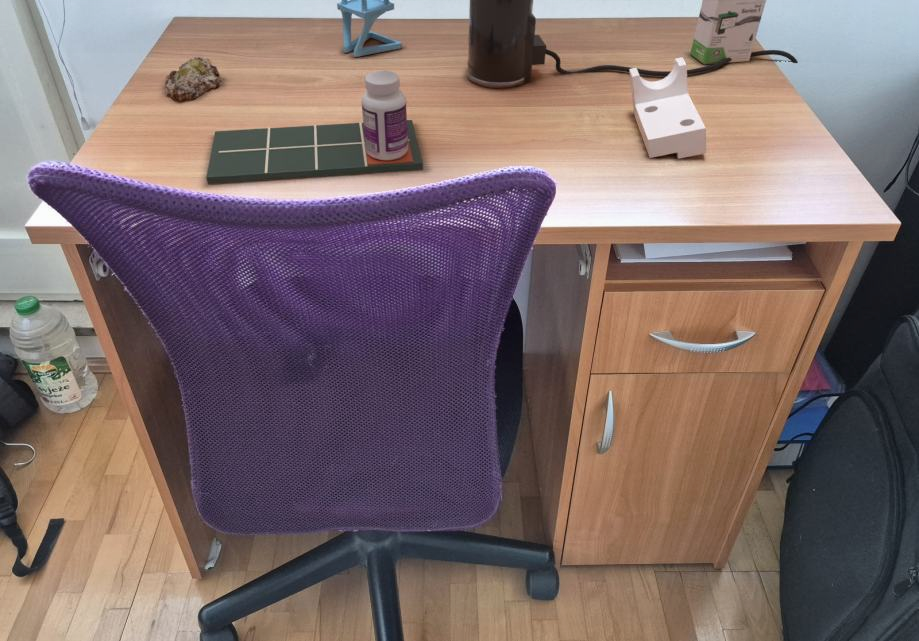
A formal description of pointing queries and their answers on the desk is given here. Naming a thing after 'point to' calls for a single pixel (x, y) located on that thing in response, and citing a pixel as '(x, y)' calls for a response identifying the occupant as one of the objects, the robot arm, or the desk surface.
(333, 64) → the desk surface
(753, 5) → the ink box
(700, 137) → the bracket
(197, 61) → the mineral rock
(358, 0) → the chair
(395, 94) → the pill bottle
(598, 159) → the desk surface
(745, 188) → the desk surface
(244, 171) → the grid board
